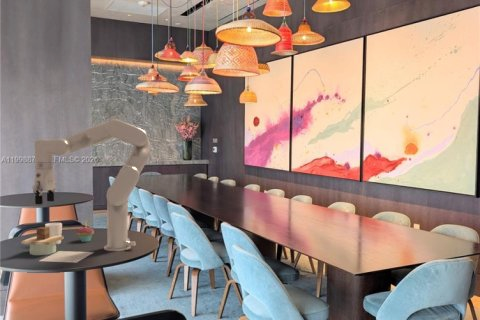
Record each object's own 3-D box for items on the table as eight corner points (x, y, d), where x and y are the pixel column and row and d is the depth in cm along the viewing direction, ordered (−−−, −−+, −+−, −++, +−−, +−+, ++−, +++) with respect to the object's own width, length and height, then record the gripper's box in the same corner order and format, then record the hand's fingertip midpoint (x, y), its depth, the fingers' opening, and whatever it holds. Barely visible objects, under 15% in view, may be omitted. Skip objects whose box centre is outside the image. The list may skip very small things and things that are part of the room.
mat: (94, 253, 195) (94, 252, 195) (76, 263, 178) (76, 262, 178) (59, 251, 196) (59, 251, 196) (38, 261, 179) (38, 261, 179)
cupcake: (95, 241, 218) (95, 218, 218) (79, 243, 213) (78, 220, 213) (91, 238, 225) (91, 216, 225) (75, 240, 221) (74, 217, 220)
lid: (63, 238, 200) (63, 225, 200) (48, 244, 187) (48, 231, 187) (37, 237, 201) (37, 224, 201) (21, 243, 188) (21, 230, 188)
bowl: (60, 250, 199) (60, 238, 199) (47, 256, 188) (47, 244, 188) (38, 249, 200) (38, 238, 200) (24, 255, 189) (24, 243, 189)
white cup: (57, 241, 218) (57, 222, 218) (65, 243, 213) (64, 223, 213) (42, 243, 212) (42, 224, 212) (49, 246, 207) (49, 226, 207)
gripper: (41, 167, 184) (42, 205, 185) (61, 165, 202) (62, 200, 202) (25, 167, 185) (26, 205, 186) (46, 165, 202) (47, 200, 203)
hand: (44, 202), depth 194 cm, fingers open, 9 cm apart
